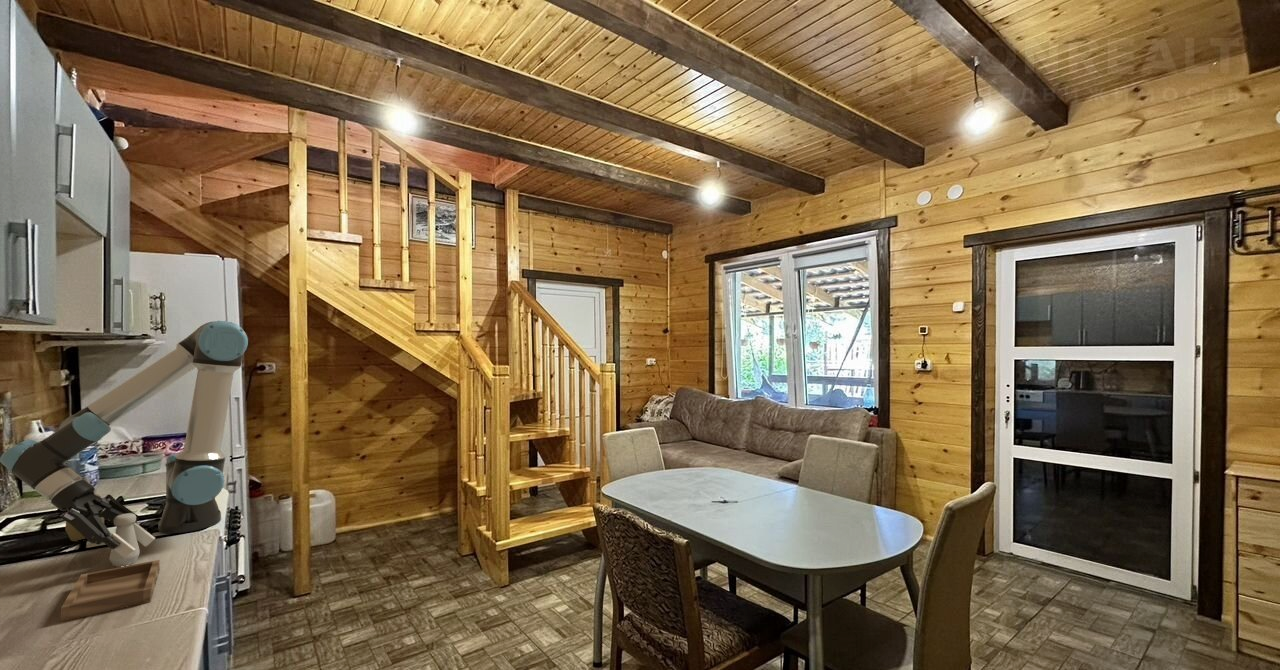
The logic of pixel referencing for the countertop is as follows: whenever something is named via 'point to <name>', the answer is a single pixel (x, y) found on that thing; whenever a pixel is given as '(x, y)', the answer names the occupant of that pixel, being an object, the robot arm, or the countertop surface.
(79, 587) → the walnut tray
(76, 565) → the countertop surface
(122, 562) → the salt shaker
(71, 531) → the squeeze bottle
